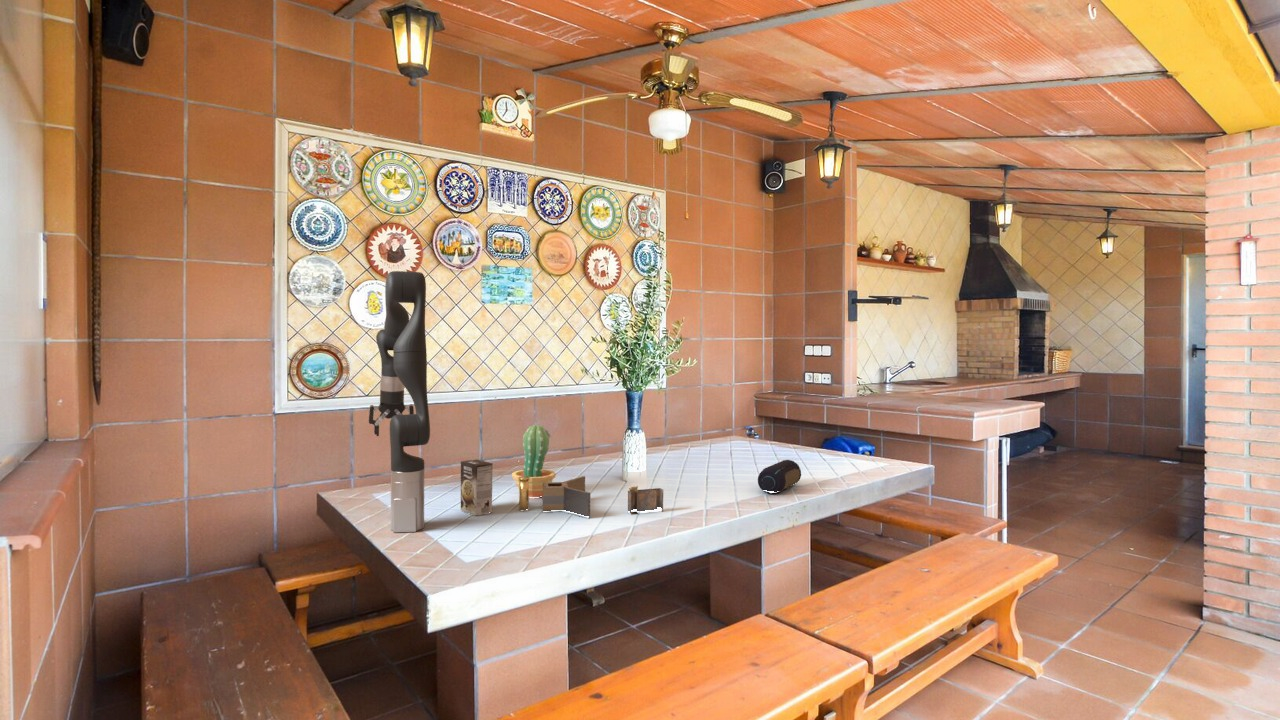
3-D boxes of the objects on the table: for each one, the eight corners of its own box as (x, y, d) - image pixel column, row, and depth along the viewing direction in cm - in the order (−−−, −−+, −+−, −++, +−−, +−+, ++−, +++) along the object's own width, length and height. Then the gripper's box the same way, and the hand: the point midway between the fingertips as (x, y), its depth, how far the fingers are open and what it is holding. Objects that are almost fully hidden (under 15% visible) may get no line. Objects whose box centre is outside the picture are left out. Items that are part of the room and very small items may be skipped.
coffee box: (459, 511, 212) (459, 461, 211) (476, 507, 216) (477, 458, 216) (475, 516, 205) (475, 465, 205) (492, 512, 210) (493, 462, 210)
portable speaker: (780, 498, 235) (781, 470, 235) (754, 494, 241) (755, 466, 240) (804, 485, 256) (804, 459, 256) (779, 481, 262) (780, 456, 261)
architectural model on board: (630, 516, 209) (631, 486, 209) (627, 514, 212) (628, 484, 212) (663, 513, 214) (664, 483, 213) (659, 511, 216) (660, 481, 216)
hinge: (590, 518, 205) (590, 493, 205) (542, 520, 203) (542, 494, 202) (584, 498, 230) (585, 476, 229) (542, 499, 227) (542, 476, 227)
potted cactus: (563, 497, 231) (563, 426, 230) (522, 503, 223) (523, 429, 222) (543, 488, 244) (544, 421, 243) (504, 493, 235) (505, 424, 235)
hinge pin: (529, 511, 213) (529, 478, 212) (517, 511, 212) (518, 478, 212) (529, 508, 216) (529, 476, 216) (518, 508, 216) (518, 476, 215)
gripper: (369, 390, 215) (368, 439, 217) (415, 390, 221) (414, 437, 223) (368, 386, 222) (368, 433, 224) (413, 386, 227) (412, 431, 230)
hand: (391, 435), depth 223 cm, fingers open, 8 cm apart
